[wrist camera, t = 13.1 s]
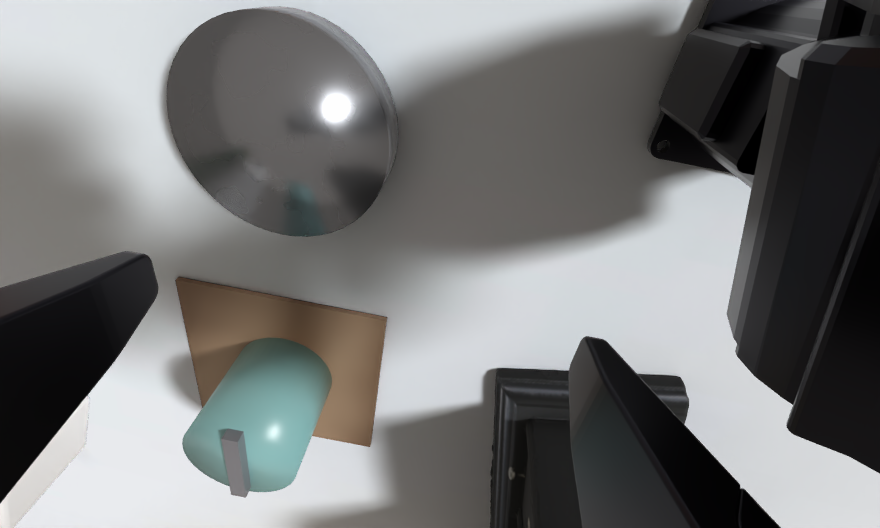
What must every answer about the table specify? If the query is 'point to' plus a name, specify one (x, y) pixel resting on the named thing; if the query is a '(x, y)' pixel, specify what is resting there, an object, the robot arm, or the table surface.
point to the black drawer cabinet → (545, 447)
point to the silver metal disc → (283, 119)
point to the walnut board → (313, 325)
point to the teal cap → (260, 417)
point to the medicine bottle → (46, 467)
